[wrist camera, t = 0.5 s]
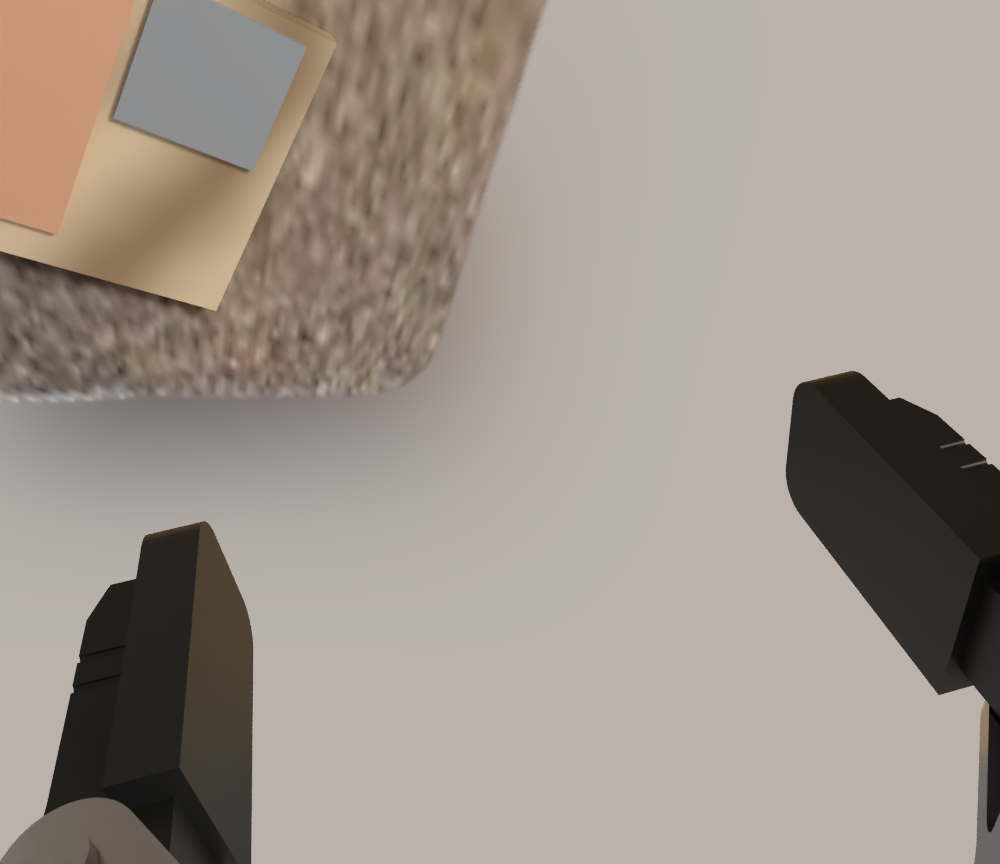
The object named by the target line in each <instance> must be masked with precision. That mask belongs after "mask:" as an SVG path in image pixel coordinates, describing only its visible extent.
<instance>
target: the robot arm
mask: <svg viewBox="0 0 1000 864" xmlns="http://www.w3.org/2000/svg"><path fill="white" fill-rule="evenodd" d="M786 479H787V485H788V490H789V493H790V496H791V498H792V501H793V503H794V505H795V507H796V508H797V511H798V512H799V514H800V515H801V516H802V518H803V519H804V520H805V521H806V523H807V524H808V525H809V527H810V528H811V529H812V531H813V532H814V533H815V534H816V536H817V537H818V538H819V540H820V541H821V542H822V544H823V545H824V546H825V547H826V549H827V550H828V551H829V553H830V554H831V555H832V557H833V558H834V559H835V560H836V562H837V563H838V564H839V566H840V567H841V568H842V570H843V571H844V572H845V574H846V575H847V576H848V577H849V579H850V580H851V581H852V582H853V584H854V585H855V587H856V588H857V589H858V590H859V591H860V593H861V594H862V596H863V597H864V598H865V600H866V601H867V602H868V603H869V605H870V606H871V607H872V609H873V610H874V611H875V613H876V614H877V615H878V617H879V618H880V619H881V620H882V622H883V623H884V624H885V626H886V627H887V628H888V629H889V631H890V632H891V633H892V635H893V636H894V637H895V639H896V640H897V641H898V643H899V644H900V645H901V646H902V648H903V649H904V650H905V652H906V653H907V654H908V656H909V657H910V658H911V659H912V661H913V662H914V663H915V665H916V666H917V667H918V669H919V670H920V671H921V672H922V674H923V675H924V676H925V678H926V679H927V680H928V682H929V683H930V684H931V685H932V687H933V688H934V689H935V691H936V692H937V693H938V694H939V695H940V694H944V693H947V692H951V691H955V690H958V689H962V688H965V687H969V686H973V685H974V686H975V688H976V689H977V690H978V691H979V692H980V694H981V695H982V696H983V697H984V699H985V703H984V705H983V708H982V712H981V720H980V752H979V782H978V783H979V785H978V814H977V845H976V855H975V862H974V864H1000V471H999V470H998V469H997V468H996V467H995V466H994V465H992V464H990V465H988V464H987V462H986V458H985V457H984V456H982V455H981V454H980V453H979V452H978V451H977V450H976V449H974V448H973V447H972V446H971V445H970V444H967V445H966V444H965V442H964V439H963V438H962V437H961V436H960V435H959V434H958V433H957V432H956V431H954V430H953V429H952V428H951V427H950V426H949V425H948V424H947V423H946V422H944V421H943V420H942V419H941V418H940V417H939V416H938V415H936V414H934V413H931V412H929V411H927V410H925V409H923V408H921V407H919V406H917V405H914V404H912V403H910V402H908V401H906V400H904V399H901V398H896V399H892V400H889V399H888V398H887V397H886V396H885V395H884V394H882V393H881V392H880V391H879V390H878V389H877V388H876V387H875V386H874V385H873V384H872V383H870V381H869V380H867V379H866V378H865V377H864V376H863V375H862V374H860V373H858V372H855V371H850V372H845V373H841V374H837V375H833V376H829V377H825V378H820V379H816V380H812V381H807V382H803V383H801V384H799V385H798V386H797V388H796V389H795V392H794V397H793V405H792V415H791V425H790V435H789V444H788V454H787V463H786ZM79 657H80V663H77V668H76V672H75V677H74V682H73V688H74V693H72V694H71V695H70V701H69V705H68V709H67V714H66V719H65V724H64V728H63V733H62V737H61V742H60V746H59V751H58V756H57V760H56V765H55V769H54V774H53V779H52V784H51V788H50V793H49V798H48V802H47V806H46V810H45V813H44V816H43V817H42V818H40V819H39V820H38V821H36V822H35V823H34V824H32V825H31V826H30V827H29V828H28V829H27V830H26V831H25V832H24V833H22V834H21V835H20V837H18V839H17V840H16V841H15V842H14V843H13V844H12V846H11V847H10V848H9V849H8V851H7V852H6V854H5V855H4V856H3V858H2V860H1V861H0V864H251V818H252V817H251V816H252V815H251V814H252V813H251V811H252V714H253V713H252V712H253V711H252V709H253V639H252V632H251V626H250V620H249V617H248V613H247V609H246V606H245V603H244V600H243V598H242V596H241V594H240V591H239V589H238V587H237V584H236V582H235V580H234V577H233V575H232V573H231V571H230V568H229V566H228V564H227V562H226V559H225V557H224V555H223V552H222V550H221V548H220V546H219V543H218V541H217V539H216V536H215V534H214V532H213V530H212V528H211V527H210V525H209V524H208V523H207V522H200V523H195V524H191V525H187V526H183V527H179V528H174V529H170V530H165V531H161V532H157V533H153V534H148V535H146V536H145V537H144V539H143V542H142V546H141V553H140V559H139V565H138V571H137V577H136V579H134V580H130V581H125V582H122V583H117V584H113V585H110V587H109V588H108V590H107V591H106V592H105V594H104V596H103V597H102V598H101V600H100V601H99V603H98V604H97V606H96V607H95V609H94V610H93V612H92V613H91V615H90V616H89V618H88V619H87V621H86V626H85V631H84V635H83V640H82V644H81V649H80V654H79Z"/></svg>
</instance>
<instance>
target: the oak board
mask: <svg viewBox="0 0 1000 864" xmlns="http://www.w3.org/2000/svg"><path fill="white" fill-rule="evenodd" d="M215 1H217V2H219V3H221V4H223V5H225V6H227V7H229V8H231V9H233V10H235V11H237V12H239V13H241V14H243V15H245V16H247V17H249V18H252V19H254V20H256V21H258V22H260V23H262V24H264V25H266V26H268V27H270V28H272V29H274V30H276V31H278V32H280V33H282V34H284V35H286V36H288V37H291V38H293V39H295V40H297V41H299V42H301V43H303V44H305V45H306V47H307V48H306V51H305V53H304V55H303V58H302V60H301V62H300V65H299V67H298V69H297V71H296V74H295V76H294V78H293V81H292V83H291V85H290V87H289V90H288V92H287V94H286V97H285V99H284V101H283V103H282V106H281V108H280V110H279V113H278V115H277V117H276V120H275V122H274V124H273V126H272V129H271V131H270V133H269V136H268V138H267V140H266V142H265V145H264V147H263V149H262V152H261V154H260V156H259V159H258V161H257V163H256V165H255V168H254V170H253V171H251V170H248V169H245V168H243V167H240V166H237V165H235V164H232V163H230V162H227V161H224V160H222V159H219V158H216V157H214V156H211V155H209V154H206V153H203V152H201V151H198V150H195V149H193V148H190V147H188V146H185V145H182V144H180V143H177V142H174V141H172V140H169V139H167V138H164V137H161V136H159V135H156V134H154V133H151V132H148V131H146V130H143V129H140V128H138V127H135V126H133V125H130V124H127V123H125V122H122V121H119V120H117V119H114V118H113V114H114V111H115V108H116V105H117V102H118V99H119V96H120V93H121V90H122V87H123V84H124V81H125V78H126V75H127V72H128V69H129V66H130V63H131V61H132V58H133V55H134V52H135V49H136V46H137V43H138V40H139V37H140V34H141V31H142V28H143V25H144V22H145V19H146V16H147V13H148V10H149V8H150V5H151V2H152V0H135V2H134V5H133V8H132V11H131V14H130V17H129V20H128V23H127V26H126V29H125V32H124V35H123V38H122V41H121V44H120V47H119V50H118V53H117V56H116V59H115V62H114V65H113V68H112V71H111V74H110V77H109V80H108V83H107V86H106V89H105V92H104V95H103V99H102V102H101V105H100V108H99V111H98V114H97V117H96V120H95V123H94V126H93V129H92V132H91V135H90V138H89V141H88V144H87V147H86V150H85V153H84V156H83V159H82V162H81V165H80V168H79V171H78V174H77V177H76V180H75V183H74V186H73V189H72V192H71V195H70V198H69V202H68V205H67V208H66V211H65V214H64V217H63V220H62V223H61V226H60V229H59V232H58V235H57V234H53V233H50V232H46V231H43V230H40V229H36V228H33V227H30V226H26V225H23V224H20V223H16V222H13V221H9V220H6V219H3V218H0V251H2V252H5V253H9V254H13V255H16V256H20V257H23V258H27V259H31V260H34V261H38V262H41V263H45V264H49V265H52V266H56V267H59V268H63V269H67V270H70V271H74V272H77V273H81V274H85V275H88V276H92V277H95V278H99V279H103V280H106V281H110V282H113V283H117V284H121V285H124V286H128V287H132V288H135V289H139V290H142V291H146V292H150V293H153V294H157V295H160V296H164V297H168V298H171V299H175V300H178V301H182V302H186V303H189V304H193V305H196V306H200V307H204V308H207V309H211V310H214V311H216V310H217V308H218V306H219V304H220V301H221V299H222V297H223V295H224V293H225V290H226V288H227V286H228V284H229V282H230V279H231V277H232V275H233V273H234V270H235V268H236V266H237V264H238V262H239V259H240V257H241V255H242V253H243V251H244V248H245V246H246V244H247V242H248V240H249V237H250V235H251V233H252V231H253V228H254V226H255V224H256V222H257V220H258V217H259V215H260V213H261V211H262V209H263V206H264V204H265V202H266V200H267V198H268V195H269V193H270V191H271V189H272V186H273V184H274V182H275V180H276V178H277V175H278V173H279V171H280V169H281V167H282V164H283V162H284V160H285V158H286V156H287V153H288V151H289V149H290V147H291V144H292V142H293V140H294V138H295V136H296V133H297V131H298V129H299V127H300V125H301V122H302V120H303V118H304V116H305V114H306V111H307V109H308V107H309V105H310V102H311V100H312V98H313V96H314V94H315V91H316V89H317V87H318V85H319V83H320V80H321V78H322V76H323V74H324V72H325V69H326V67H327V65H328V63H329V60H330V58H331V56H332V54H333V52H334V49H335V47H336V45H337V44H336V42H335V40H334V38H333V37H332V35H331V34H329V33H327V32H325V31H323V30H321V29H319V28H317V27H315V26H313V25H311V24H309V23H307V22H305V21H303V20H301V19H299V18H297V17H295V16H293V15H291V14H289V13H287V12H286V11H284V10H282V9H280V8H278V7H276V6H274V5H272V4H270V3H268V2H266V1H264V0H215Z"/></svg>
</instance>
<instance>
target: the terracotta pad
mask: <svg viewBox="0 0 1000 864" xmlns="http://www.w3.org/2000/svg"><path fill="white" fill-rule="evenodd" d="M134 2H135V0H0V218H3V219H6V220H9V221H13V222H16V223H20V224H23V225H26V226H30V227H33V228H36V229H40V230H43V231H46V232H50V233H53V234H57V235H58V232H59V229H60V226H61V223H62V220H63V217H64V214H65V211H66V208H67V205H68V202H69V198H70V195H71V192H72V189H73V186H74V183H75V180H76V177H77V174H78V171H79V168H80V165H81V162H82V159H83V156H84V153H85V150H86V147H87V144H88V141H89V138H90V135H91V132H92V129H93V126H94V123H95V120H96V117H97V114H98V111H99V108H100V105H101V102H102V99H103V95H104V92H105V89H106V86H107V83H108V80H109V77H110V74H111V71H112V68H113V65H114V62H115V59H116V56H117V53H118V50H119V47H120V44H121V41H122V38H123V35H124V32H125V29H126V26H127V23H128V20H129V17H130V14H131V11H132V8H133V5H134Z"/></svg>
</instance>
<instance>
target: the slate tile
mask: <svg viewBox="0 0 1000 864" xmlns="http://www.w3.org/2000/svg"><path fill="white" fill-rule="evenodd" d="M306 48H307V47H306V45H305V44H303V43H301V42H299V41H297V40H295V39H293V38H291V37H288V36H286V35H284V34H282V33H280V32H278V31H276V30H274V29H272V28H270V27H268V26H266V25H264V24H262V23H260V22H258V21H256V20H254V19H252V18H249V17H247V16H245V15H243V14H241V13H239V12H237V11H235V10H233V9H231V8H229V7H227V6H225V5H223V4H221V3H219V2H217V1H215V0H152V2H151V5H150V8H149V10H148V13H147V16H146V19H145V22H144V25H143V28H142V31H141V34H140V37H139V40H138V43H137V46H136V49H135V52H134V55H133V58H132V61H131V63H130V66H129V69H128V72H127V75H126V78H125V81H124V84H123V87H122V90H121V93H120V96H119V99H118V102H117V105H116V108H115V111H114V114H113V118H114V119H117V120H119V121H122V122H125V123H127V124H130V125H133V126H135V127H138V128H140V129H143V130H146V131H148V132H151V133H154V134H156V135H159V136H161V137H164V138H167V139H169V140H172V141H174V142H177V143H180V144H182V145H185V146H188V147H190V148H193V149H195V150H198V151H201V152H203V153H206V154H209V155H211V156H214V157H216V158H219V159H222V160H224V161H227V162H230V163H232V164H235V165H237V166H240V167H243V168H245V169H248V170H251V171H253V170H254V168H255V165H256V163H257V161H258V159H259V156H260V154H261V152H262V149H263V147H264V145H265V142H266V140H267V138H268V136H269V133H270V131H271V129H272V126H273V124H274V122H275V120H276V117H277V115H278V113H279V110H280V108H281V106H282V103H283V101H284V99H285V97H286V94H287V92H288V90H289V87H290V85H291V83H292V81H293V78H294V76H295V74H296V71H297V69H298V67H299V65H300V62H301V60H302V58H303V55H304V53H305V51H306Z"/></svg>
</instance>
